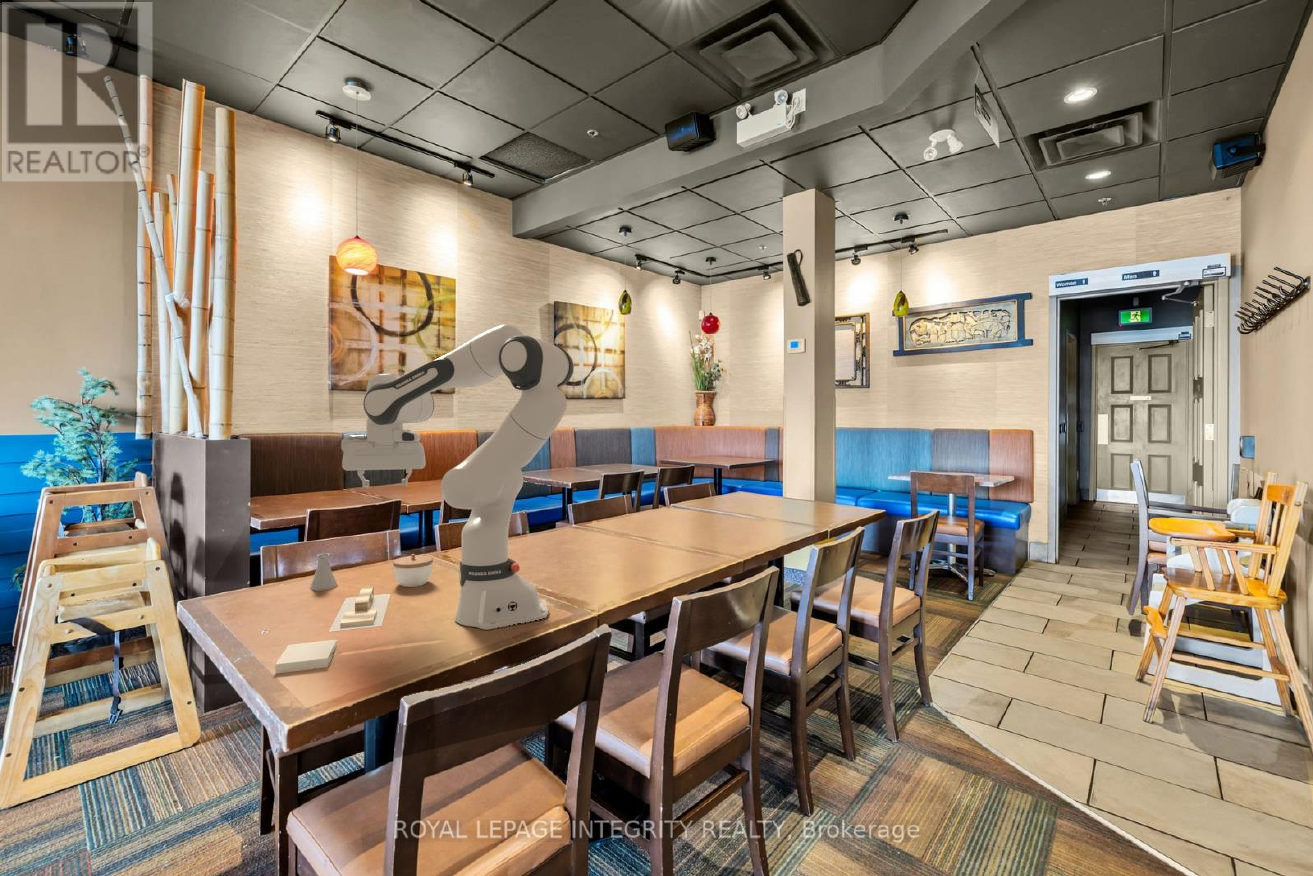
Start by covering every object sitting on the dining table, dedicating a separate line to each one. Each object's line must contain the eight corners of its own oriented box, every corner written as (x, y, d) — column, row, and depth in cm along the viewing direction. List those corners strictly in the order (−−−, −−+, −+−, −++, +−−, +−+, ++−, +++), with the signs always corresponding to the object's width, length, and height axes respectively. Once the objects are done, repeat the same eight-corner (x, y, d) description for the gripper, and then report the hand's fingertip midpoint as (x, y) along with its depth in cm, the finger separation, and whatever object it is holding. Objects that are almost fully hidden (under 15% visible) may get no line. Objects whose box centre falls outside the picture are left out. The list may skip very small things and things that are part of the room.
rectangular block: (336, 639, 124) (327, 658, 115) (337, 649, 124) (327, 668, 115) (288, 644, 121) (275, 664, 112) (288, 654, 121) (275, 675, 112)
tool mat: (390, 595, 160) (390, 593, 160) (381, 628, 136) (381, 626, 136) (346, 599, 156) (346, 597, 156) (328, 634, 132) (328, 631, 132)
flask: (343, 588, 167) (342, 554, 166) (317, 594, 161) (317, 559, 160) (329, 584, 171) (329, 550, 170) (304, 590, 165) (303, 555, 164)
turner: (353, 599, 155) (353, 588, 155) (382, 596, 158) (382, 585, 157) (340, 627, 134) (339, 614, 134) (373, 623, 137) (373, 611, 137)
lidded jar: (429, 578, 177) (429, 548, 176) (436, 587, 168) (436, 556, 167) (391, 583, 171) (390, 552, 171) (396, 593, 162) (395, 560, 162)
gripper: (339, 435, 148) (339, 489, 148) (425, 435, 155) (425, 486, 155) (343, 434, 153) (343, 486, 154) (425, 434, 161) (426, 483, 161)
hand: (385, 486), depth 155 cm, fingers open, 8 cm apart
